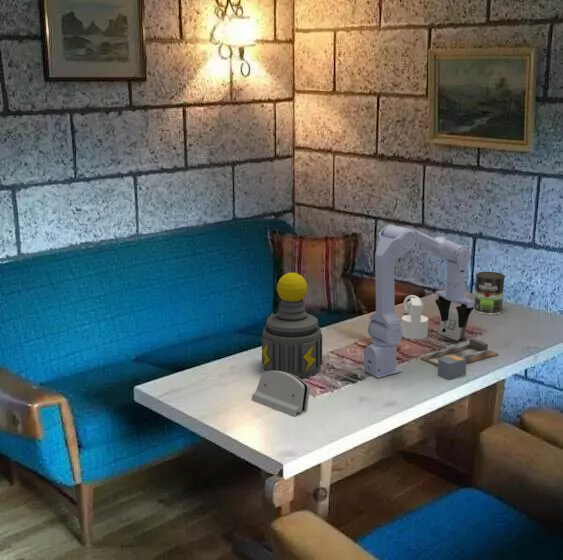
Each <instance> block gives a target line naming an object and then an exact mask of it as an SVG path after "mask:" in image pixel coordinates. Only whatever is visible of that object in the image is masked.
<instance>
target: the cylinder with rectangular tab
mask: <svg viewBox="0 0 563 560" xmlns="http://www.w3.org/2000/svg"><path fill="white" fill-rule="evenodd" d="M419 298H420V297H419ZM419 298H410V299H409V301H410V310H409V311H410V315H409V314H406V315H403V316H401V323H400V327H401V329H402V332H403V335H402V338H404V337H405V338H404V339H408V338H409V339H408V340H415V339H416V340H423V338H424V339H427V338H428V334H429V318H428V317H427V316H426V315H421V314H422V313H421V303H420V299H421V298H420V299H419Z"/></svg>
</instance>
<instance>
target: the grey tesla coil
mask: <svg viewBox="0 0 563 560" xmlns="http://www.w3.org/2000/svg"><path fill="white" fill-rule="evenodd" d="M276 292H277V294H278V297H279V298H280V299H281V300H280V305H279V308H278V309H279V310H278V312H277V313H275V314H273V315H270V316H269V317H268V318H267V319H266V321H265V322H266V323H265V324H266V325H265V326H264V327H263V329H262V335H261V363H262V366H263V369H264V370H265V372H266V371H282V372H287V373H290V374H293V375H295V376H297V377H299V378H300V379H301V378H308V377H310V375H311V376H313V375H315V374H316V373H318V372H320V369H321V367H322V364H323V333H322V329H321V327H320V326H319V320H318V318H317V317H315V316H314V315H312V314H310V313H307V311H306V307H305V306H306V305H304V303H305V302H304V298H305V297H306V296H307V292H308V284H307V280H306V279H305V278H304V277H303V275H301V274H300V273H298V272H287V273H285V274H284V275H282V276H281V277H280V278H279V280H278V282H277V284H276ZM307 376H308V377H307Z"/></svg>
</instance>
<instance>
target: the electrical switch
mask: <svg viewBox="0 0 563 560" xmlns="http://www.w3.org/2000/svg"><path fill="white" fill-rule="evenodd" d="M469 318H470V316H468V319H467V321H466V324H465V327H462V328H459V326H458V312H457V310H452V309H450V308H449V316H448V321H442V320H441V319H440V322H439V326H438V329H437V334H438V335H440V336H442V337H445V338H448V339H449V340H450V339H451V340H454V341H456V342H458V341H460V340H464V338H465V334H466V330H467V326H468V322H469Z"/></svg>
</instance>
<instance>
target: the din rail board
mask: <svg viewBox="0 0 563 560" xmlns="http://www.w3.org/2000/svg"><path fill="white" fill-rule="evenodd" d="M488 347H489V344H488V343H486V342H483V341H481V340H478V339H475V338H469V343H465V344H461V345H457V346H454V347H449V348H446V349H443V350H438V351H435V352H430V353H427V354H424V356H421V357H420V359H419V360H421V361H423V362H426V363H428V364H431V365H433V366H435V367H437V368H438V360H439V359H442V358H446V357H449V356H453V355H457V356H459V357H462V358H464V359H467V361H466V365H468V364H473V363H475V362H479V361H482V360H487V359H490V358H494V357H497V356H499V353H497V352H496V351H495V352H494V351H493V349H491V348H488Z"/></svg>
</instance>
